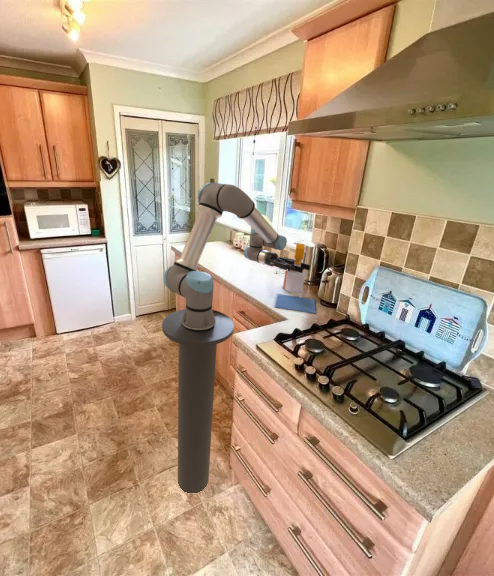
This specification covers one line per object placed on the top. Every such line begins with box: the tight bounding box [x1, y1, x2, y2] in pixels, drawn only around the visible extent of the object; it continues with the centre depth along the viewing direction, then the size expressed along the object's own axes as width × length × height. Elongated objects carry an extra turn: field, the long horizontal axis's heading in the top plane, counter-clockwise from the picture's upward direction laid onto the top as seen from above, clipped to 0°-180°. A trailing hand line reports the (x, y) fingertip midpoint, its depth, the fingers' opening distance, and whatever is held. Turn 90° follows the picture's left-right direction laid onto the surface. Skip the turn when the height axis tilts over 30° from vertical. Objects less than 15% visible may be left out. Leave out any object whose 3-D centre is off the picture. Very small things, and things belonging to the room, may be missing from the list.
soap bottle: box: [284, 243, 306, 294], centre depth 157 cm, size 9×9×25 cm
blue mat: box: [274, 293, 316, 315], centre depth 161 cm, size 20×18×1 cm
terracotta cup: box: [282, 269, 288, 291], centre depth 180 cm, size 8×8×10 cm
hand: (305, 268), depth 153 cm, fingers closed on soap bottle, 6 cm apart
